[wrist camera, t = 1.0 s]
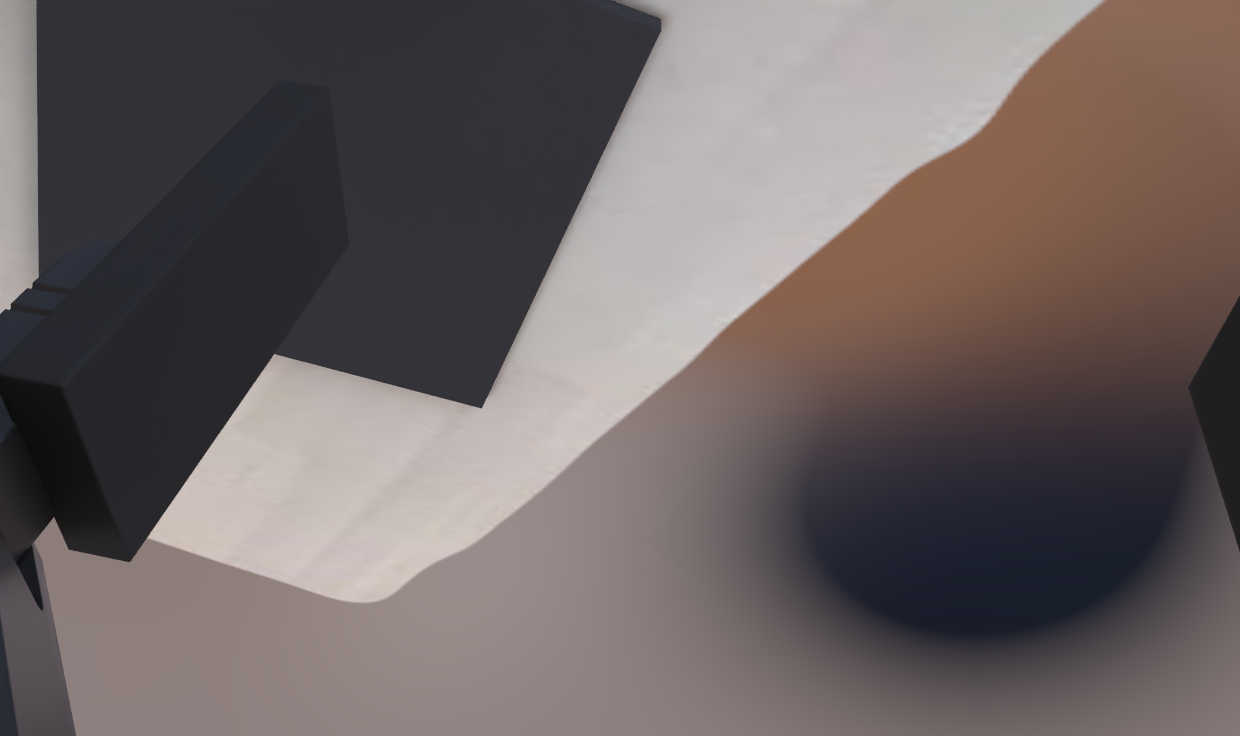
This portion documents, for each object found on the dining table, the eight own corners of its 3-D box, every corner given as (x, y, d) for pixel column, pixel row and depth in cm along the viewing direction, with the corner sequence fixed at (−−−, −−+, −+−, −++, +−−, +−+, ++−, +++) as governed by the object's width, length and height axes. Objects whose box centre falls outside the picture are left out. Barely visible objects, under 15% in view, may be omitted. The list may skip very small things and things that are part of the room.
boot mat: (45, 281, 51) (38, 292, 51) (43, -217, 35) (33, -208, 34) (483, 397, 57) (481, 408, 56) (661, 18, 40) (661, 29, 40)
